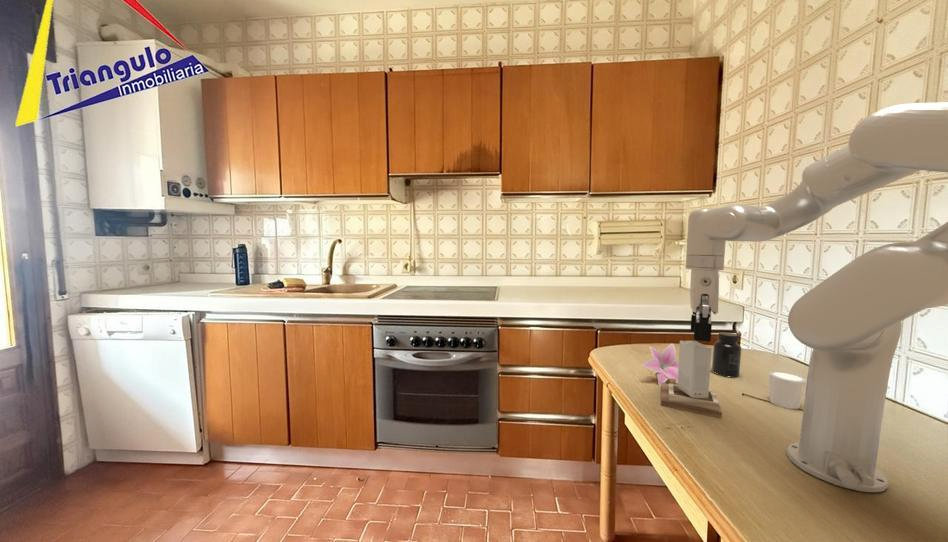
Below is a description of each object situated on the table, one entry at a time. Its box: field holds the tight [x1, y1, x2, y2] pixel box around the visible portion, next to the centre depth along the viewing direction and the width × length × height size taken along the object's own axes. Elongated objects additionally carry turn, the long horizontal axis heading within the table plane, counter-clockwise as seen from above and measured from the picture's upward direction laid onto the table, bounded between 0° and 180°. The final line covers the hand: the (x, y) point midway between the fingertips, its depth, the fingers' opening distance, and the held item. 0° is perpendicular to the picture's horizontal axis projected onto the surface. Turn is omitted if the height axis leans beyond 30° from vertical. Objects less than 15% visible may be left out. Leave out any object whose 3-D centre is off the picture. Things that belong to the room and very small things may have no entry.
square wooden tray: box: [660, 378, 723, 419], centre depth 90 cm, size 12×12×3 cm
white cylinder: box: [769, 371, 807, 410], centre depth 90 cm, size 7×7×7 cm
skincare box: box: [677, 340, 712, 398], centre depth 88 cm, size 6×4×12 cm
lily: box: [641, 343, 679, 387], centre depth 103 cm, size 12×12×10 cm
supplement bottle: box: [711, 331, 742, 378], centre depth 109 cm, size 7×7×12 cm
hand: (699, 335), depth 86 cm, fingers open, 9 cm apart
